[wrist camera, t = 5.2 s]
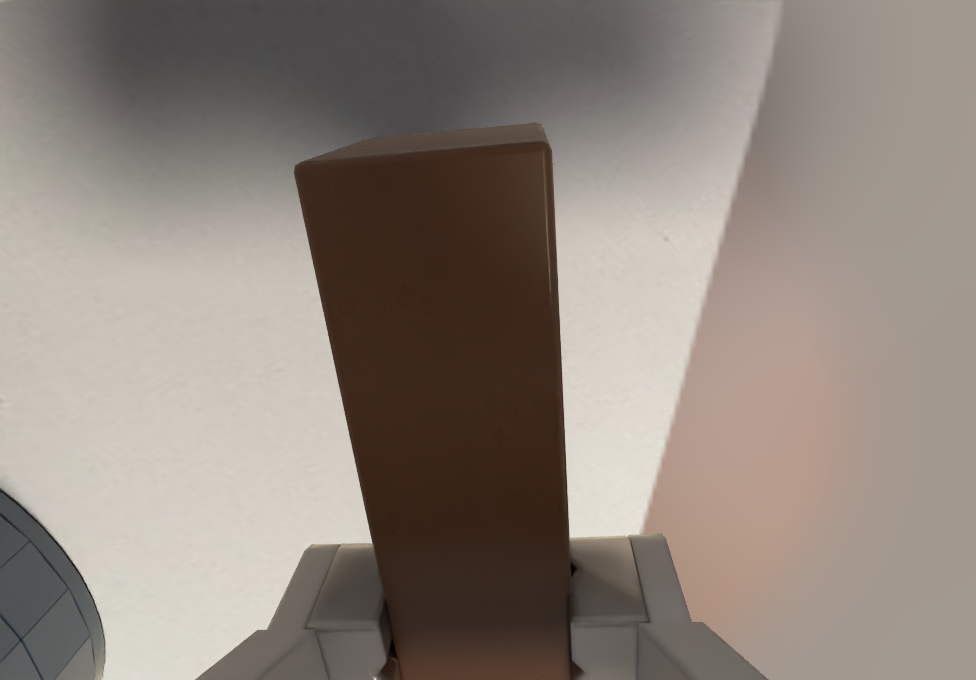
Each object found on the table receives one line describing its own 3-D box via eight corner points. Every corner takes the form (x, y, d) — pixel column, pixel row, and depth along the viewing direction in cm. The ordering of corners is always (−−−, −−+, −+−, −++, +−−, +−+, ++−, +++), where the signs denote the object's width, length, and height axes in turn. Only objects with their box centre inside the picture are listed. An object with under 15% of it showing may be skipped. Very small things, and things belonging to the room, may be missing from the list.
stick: (365, 137, 8) (288, 163, 6) (543, 121, 8) (552, 141, 5) (463, 737, 13) (447, 905, 11) (573, 737, 13) (586, 908, 10)
